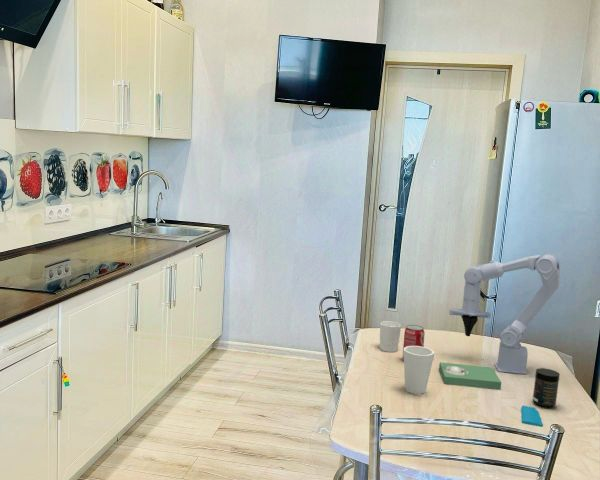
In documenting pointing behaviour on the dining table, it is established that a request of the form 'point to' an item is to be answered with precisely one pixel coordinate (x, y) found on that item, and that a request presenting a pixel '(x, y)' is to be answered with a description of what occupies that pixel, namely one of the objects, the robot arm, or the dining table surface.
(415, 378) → the foam cup
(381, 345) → the white cup
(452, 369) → the ball
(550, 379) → the supplement container
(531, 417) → the sponge
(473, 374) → the putting mat
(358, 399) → the dining table surface
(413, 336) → the soda can
